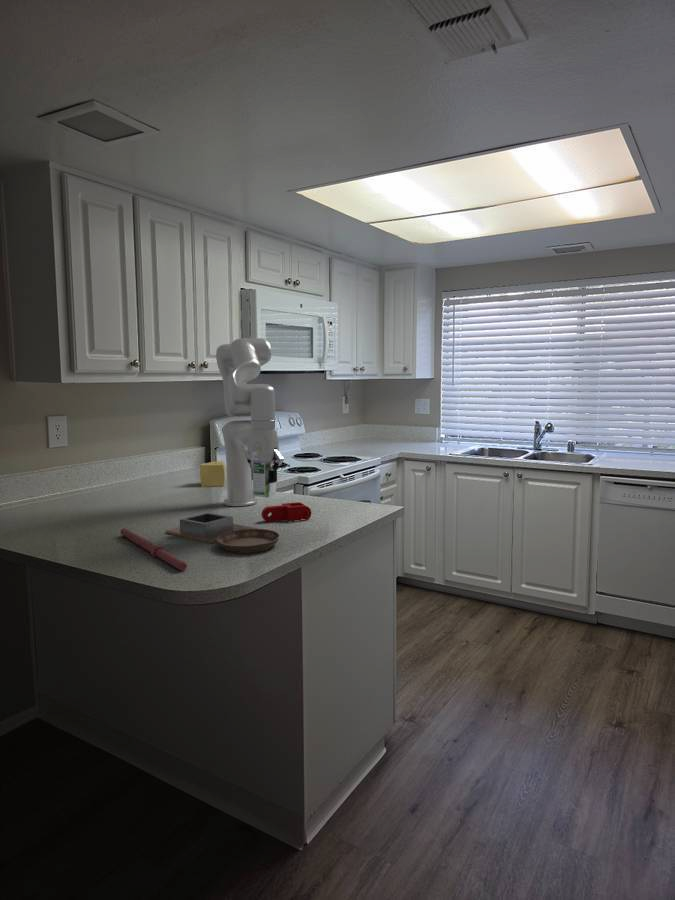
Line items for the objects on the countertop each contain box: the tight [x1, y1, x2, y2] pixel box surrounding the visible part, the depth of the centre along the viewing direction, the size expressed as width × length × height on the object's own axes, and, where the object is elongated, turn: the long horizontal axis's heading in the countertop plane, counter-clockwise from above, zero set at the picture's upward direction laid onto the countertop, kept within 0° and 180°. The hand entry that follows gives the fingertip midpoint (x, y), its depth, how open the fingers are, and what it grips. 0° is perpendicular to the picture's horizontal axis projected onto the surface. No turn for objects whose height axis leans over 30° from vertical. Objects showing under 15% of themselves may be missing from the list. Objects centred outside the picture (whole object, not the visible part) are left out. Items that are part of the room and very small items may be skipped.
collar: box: [165, 512, 259, 544], centre depth 193 cm, size 18×22×5 cm
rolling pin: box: [120, 527, 188, 572], centre depth 172 cm, size 45×3×3 cm, turn 37°
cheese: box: [199, 461, 226, 488], centre depth 278 cm, size 10×11×10 cm
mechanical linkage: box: [261, 501, 312, 523], centre depth 208 cm, size 16×7×5 cm, turn 112°
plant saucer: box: [217, 528, 281, 554], centre depth 177 cm, size 18×18×3 cm
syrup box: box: [252, 451, 277, 498], centre depth 197 cm, size 6×6×14 cm
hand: (264, 480), depth 197 cm, fingers closed on syrup box, 6 cm apart
